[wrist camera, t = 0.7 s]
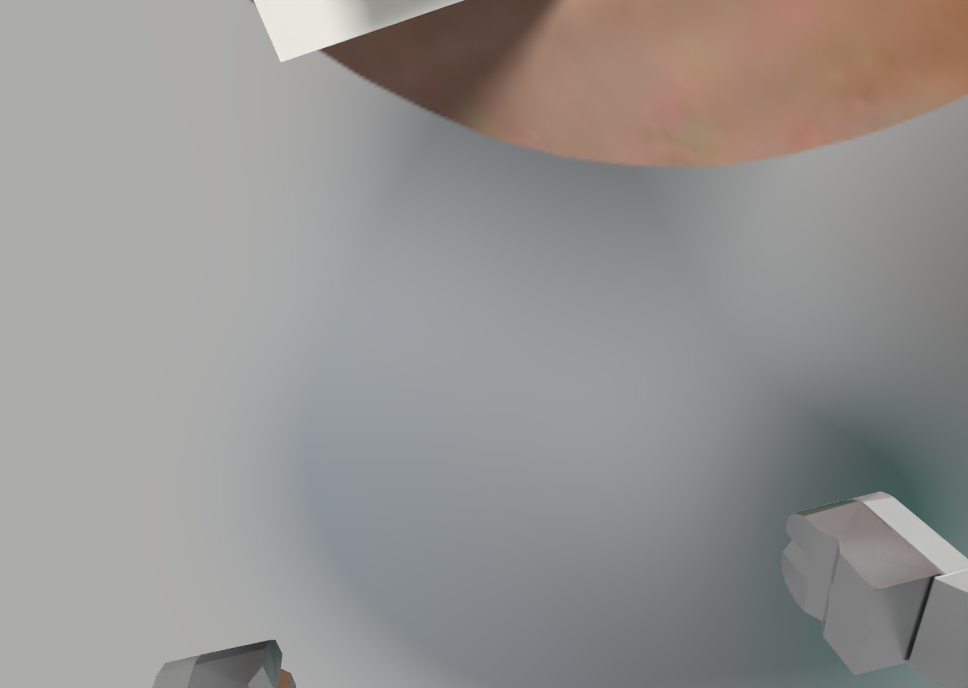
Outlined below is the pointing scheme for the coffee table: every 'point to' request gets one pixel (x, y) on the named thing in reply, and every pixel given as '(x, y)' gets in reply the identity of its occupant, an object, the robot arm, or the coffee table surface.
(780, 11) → the coffee table surface
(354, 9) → the plinth
